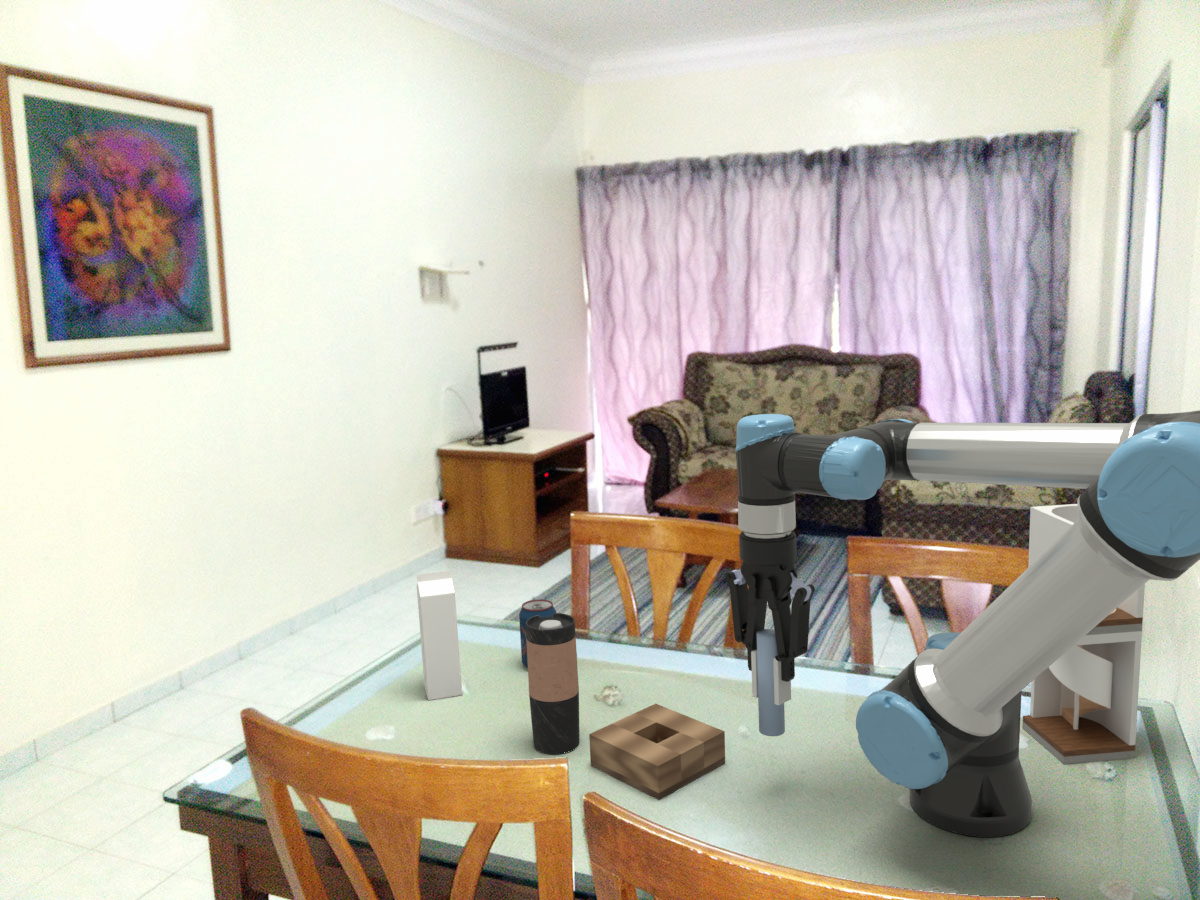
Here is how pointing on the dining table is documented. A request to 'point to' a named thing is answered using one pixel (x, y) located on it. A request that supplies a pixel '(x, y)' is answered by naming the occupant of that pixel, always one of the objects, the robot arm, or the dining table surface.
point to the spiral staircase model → (1087, 672)
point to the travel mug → (553, 682)
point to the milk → (439, 634)
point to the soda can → (529, 610)
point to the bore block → (657, 750)
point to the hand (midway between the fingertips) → (771, 697)
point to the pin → (768, 686)
